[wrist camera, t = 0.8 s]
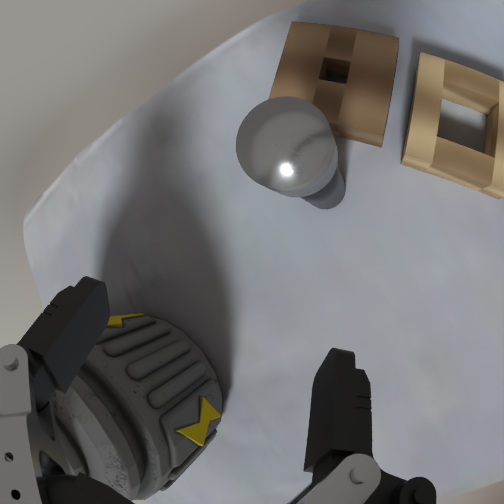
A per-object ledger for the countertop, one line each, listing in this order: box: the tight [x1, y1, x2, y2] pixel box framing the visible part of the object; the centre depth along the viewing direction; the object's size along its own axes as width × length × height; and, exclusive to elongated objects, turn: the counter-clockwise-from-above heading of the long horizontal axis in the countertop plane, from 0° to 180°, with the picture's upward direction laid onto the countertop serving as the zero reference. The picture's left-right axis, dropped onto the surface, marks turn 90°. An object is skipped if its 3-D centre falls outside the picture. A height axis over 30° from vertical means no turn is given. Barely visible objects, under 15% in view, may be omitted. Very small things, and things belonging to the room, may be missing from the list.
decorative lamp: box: [51, 313, 222, 501], centre depth 21 cm, size 19×19×30 cm
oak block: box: [401, 52, 504, 199], centre depth 21 cm, size 10×10×4 cm
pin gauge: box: [236, 96, 345, 209], centre depth 21 cm, size 4×4×15 cm
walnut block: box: [269, 22, 399, 147], centre depth 25 cm, size 10×10×4 cm
